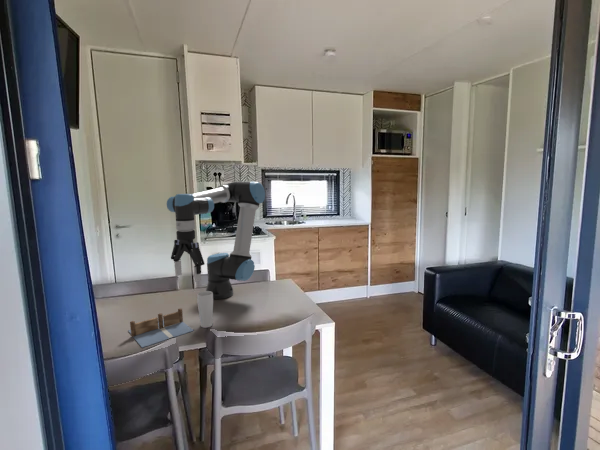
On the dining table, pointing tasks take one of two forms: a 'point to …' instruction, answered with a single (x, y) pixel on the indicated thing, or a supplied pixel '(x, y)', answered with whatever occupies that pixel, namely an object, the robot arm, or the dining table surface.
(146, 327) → the fence panel
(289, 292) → the dining table surface
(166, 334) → the mat
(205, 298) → the drinking glass
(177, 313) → the fence fixed
